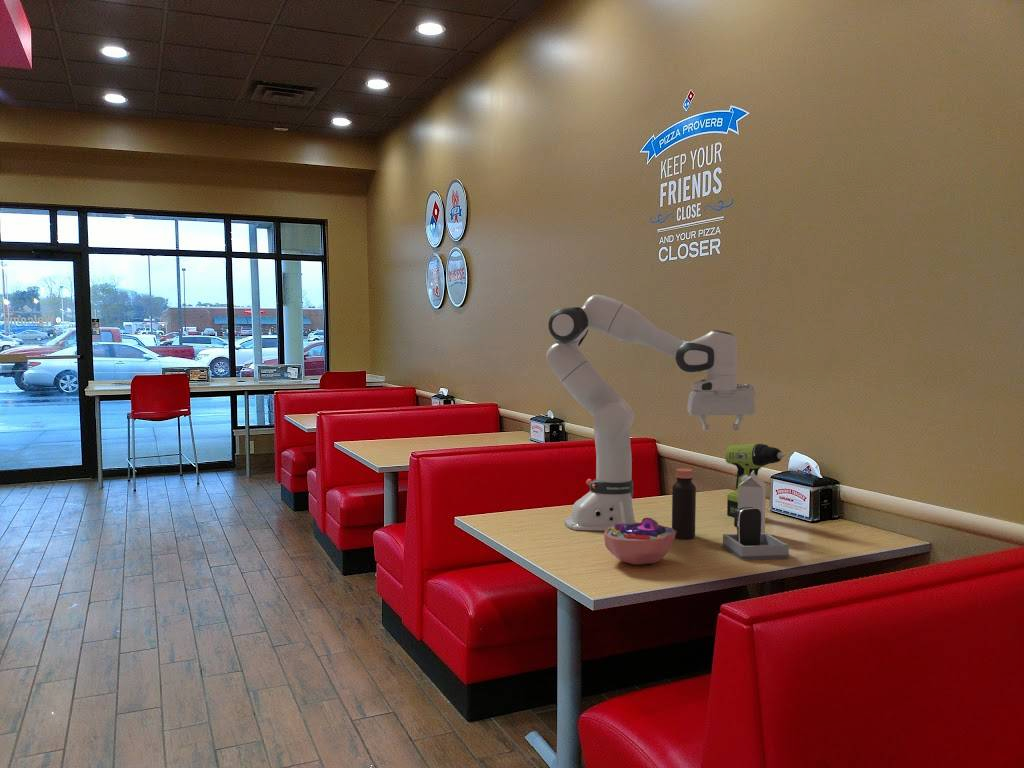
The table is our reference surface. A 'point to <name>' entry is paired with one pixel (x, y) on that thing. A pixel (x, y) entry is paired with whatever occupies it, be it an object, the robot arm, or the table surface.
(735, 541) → the tray
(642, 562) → the cell model
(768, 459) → the cordless drill
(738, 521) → the battery charger
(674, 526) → the bottle
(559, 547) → the table surface
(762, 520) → the milk carton
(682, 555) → the table surface
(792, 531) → the table surface
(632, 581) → the table surface
